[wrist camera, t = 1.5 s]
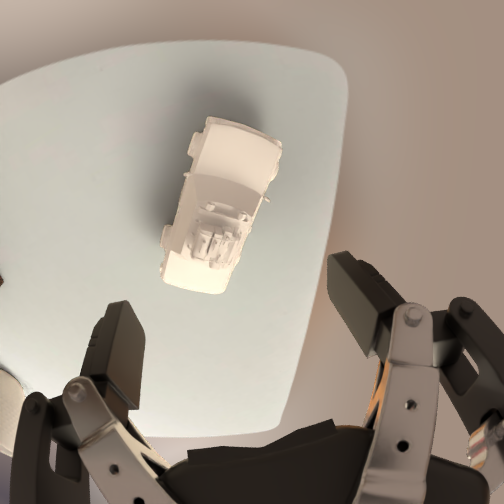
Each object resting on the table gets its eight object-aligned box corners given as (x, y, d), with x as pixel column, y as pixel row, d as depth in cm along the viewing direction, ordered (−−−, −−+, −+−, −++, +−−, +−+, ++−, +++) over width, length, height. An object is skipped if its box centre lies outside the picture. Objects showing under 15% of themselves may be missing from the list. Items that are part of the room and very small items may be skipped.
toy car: (280, 139, 18) (318, 154, 13) (224, 275, 23) (234, 332, 17) (201, 110, 16) (202, 109, 11) (155, 258, 21) (144, 314, 15)
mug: (52, 414, 32) (43, 473, 20) (12, 402, 29) (0, 454, 18) (14, 364, 24) (-9, 436, 13) (-26, 352, 22) (-50, 412, 11)
